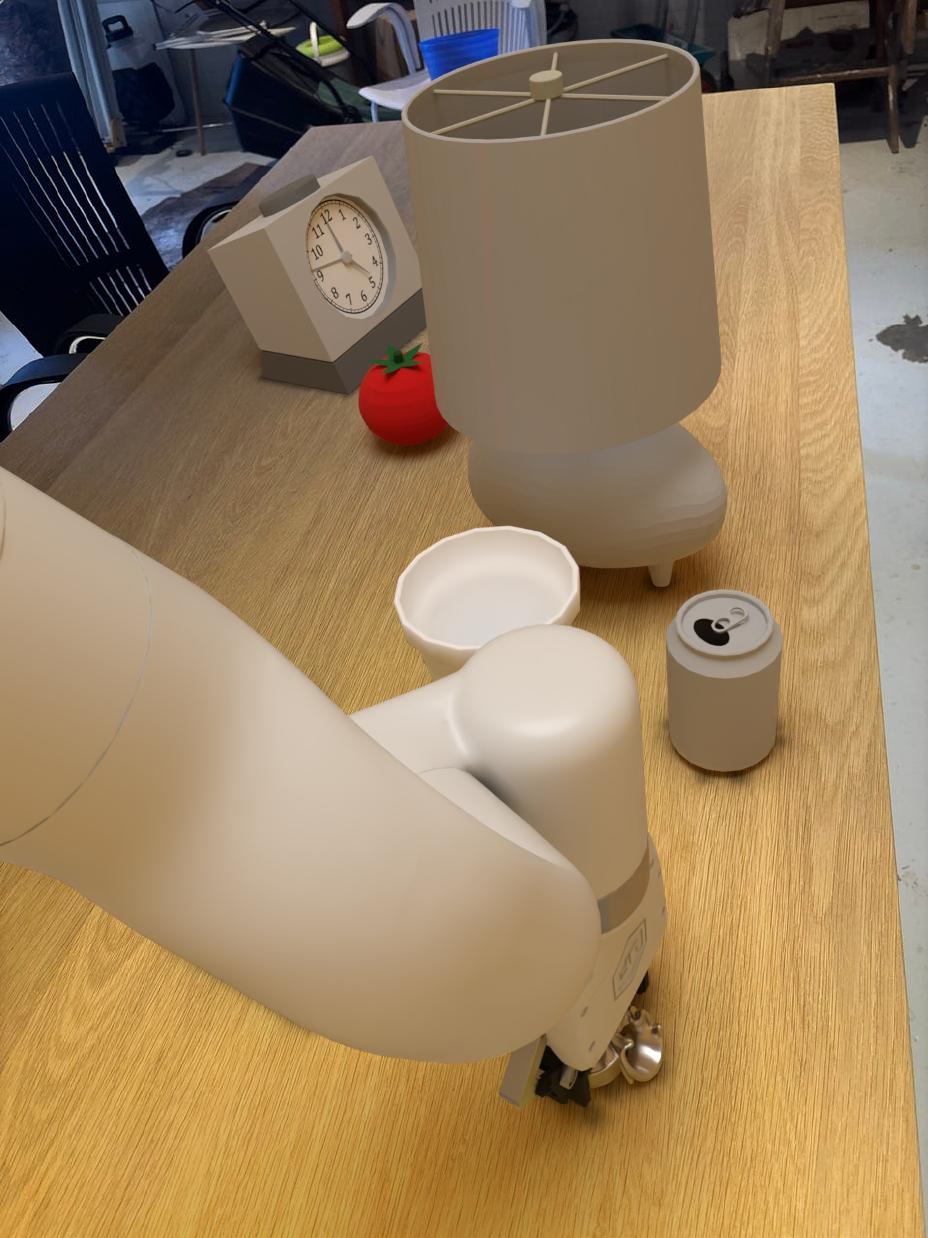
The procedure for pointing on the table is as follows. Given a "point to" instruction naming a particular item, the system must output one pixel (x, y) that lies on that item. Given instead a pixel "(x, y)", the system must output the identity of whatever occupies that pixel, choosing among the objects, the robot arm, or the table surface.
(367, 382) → the tomato
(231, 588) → the table surface
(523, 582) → the cup
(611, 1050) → the ornament
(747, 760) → the can
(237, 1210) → the table surface
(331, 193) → the alarm clock
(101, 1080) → the table surface
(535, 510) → the table lamp
